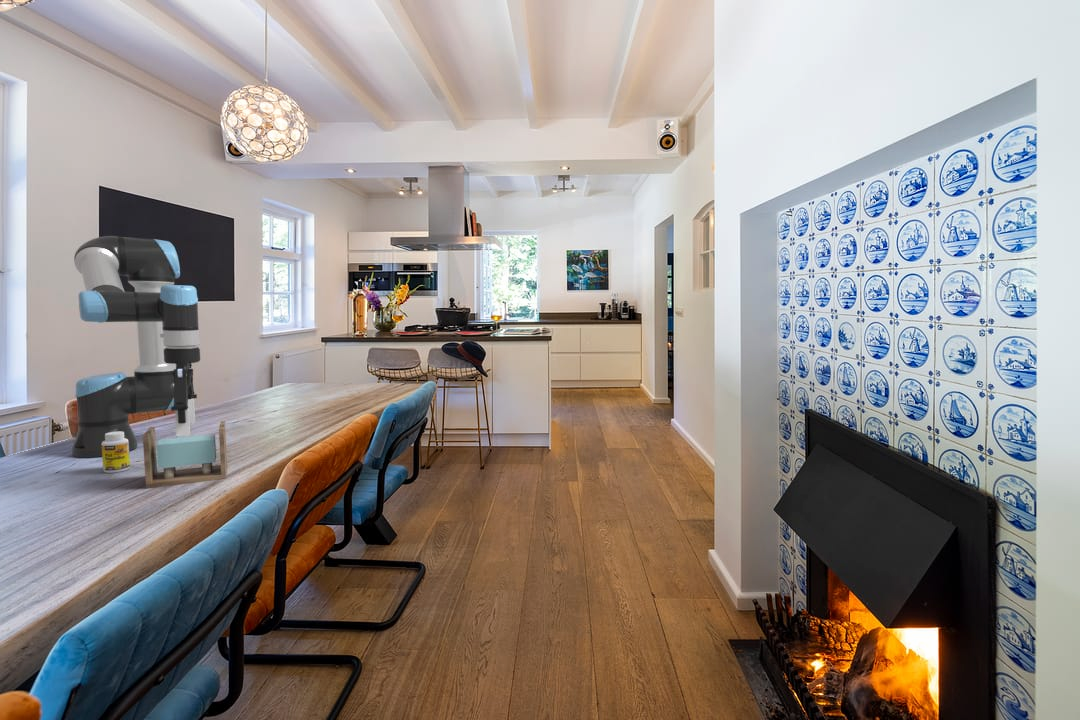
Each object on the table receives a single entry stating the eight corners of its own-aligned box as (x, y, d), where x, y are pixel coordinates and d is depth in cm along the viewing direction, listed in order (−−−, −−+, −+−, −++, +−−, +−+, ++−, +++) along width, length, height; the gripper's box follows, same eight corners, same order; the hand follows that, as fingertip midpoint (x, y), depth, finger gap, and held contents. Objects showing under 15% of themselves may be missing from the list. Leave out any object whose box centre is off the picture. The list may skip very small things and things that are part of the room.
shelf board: (160, 462, 132) (159, 439, 131) (216, 456, 138) (215, 434, 137) (158, 469, 127) (156, 445, 126) (215, 462, 133) (214, 439, 132)
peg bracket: (153, 476, 133) (149, 427, 132) (227, 467, 141) (225, 421, 140) (146, 488, 124) (142, 435, 123) (225, 478, 132) (223, 428, 131)
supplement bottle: (101, 474, 134) (99, 436, 133) (105, 469, 139) (102, 432, 138) (129, 471, 137) (126, 433, 136) (131, 466, 142) (128, 429, 141)
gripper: (170, 343, 138) (174, 420, 141) (155, 352, 117) (160, 443, 119) (203, 342, 142) (207, 417, 145) (195, 351, 121) (199, 439, 123)
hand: (186, 429), depth 132 cm, fingers open, 13 cm apart
